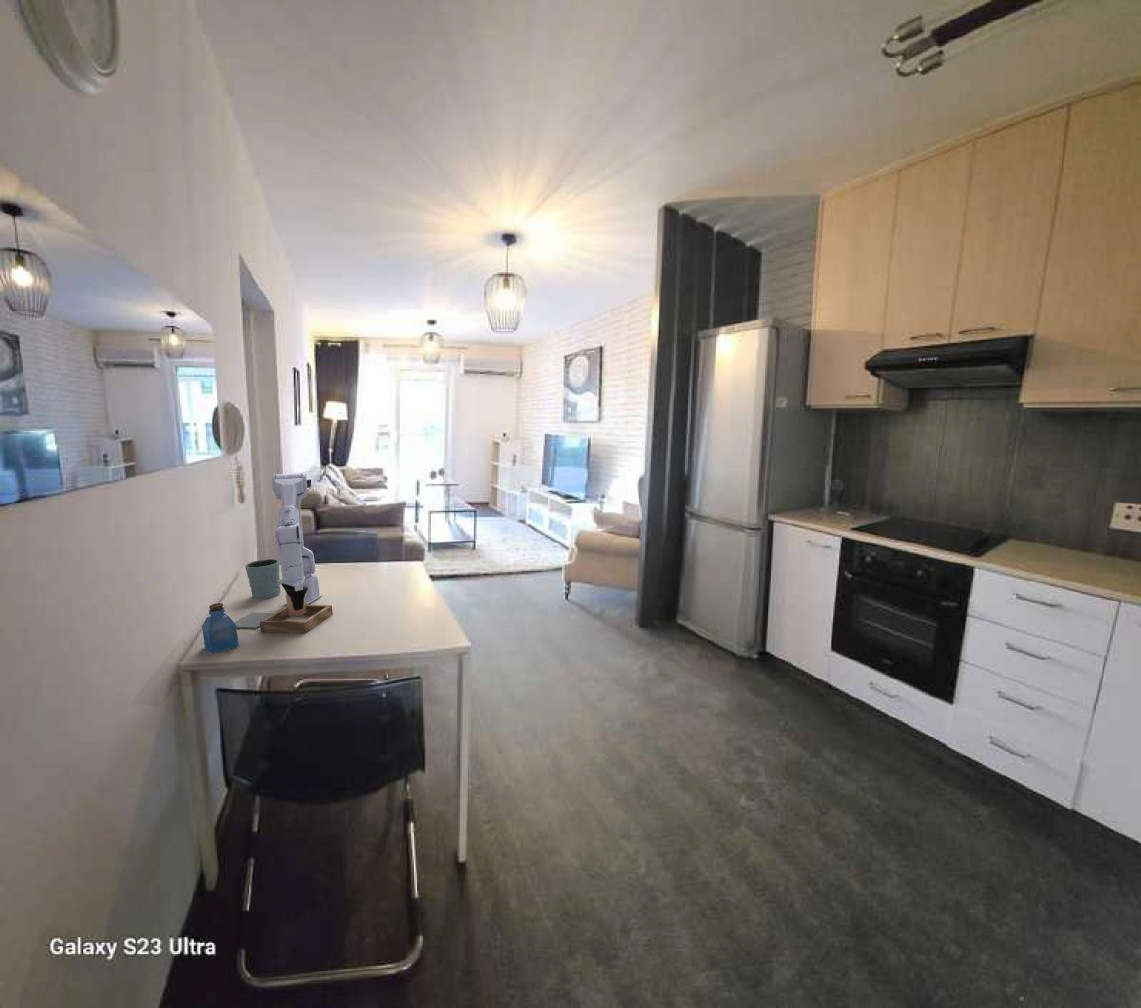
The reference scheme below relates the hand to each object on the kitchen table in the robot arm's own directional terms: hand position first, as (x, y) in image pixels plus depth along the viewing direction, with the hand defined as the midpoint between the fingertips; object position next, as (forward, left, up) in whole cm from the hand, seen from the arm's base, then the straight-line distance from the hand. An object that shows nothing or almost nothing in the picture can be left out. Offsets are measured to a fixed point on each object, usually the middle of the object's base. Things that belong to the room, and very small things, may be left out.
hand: (296, 607), depth 152 cm
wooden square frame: (0, 0, -5) cm, 5 cm away
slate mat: (0, -14, -5) cm, 15 cm away
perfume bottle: (+17, -11, -5) cm, 21 cm away
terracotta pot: (0, 0, -2) cm, 2 cm away
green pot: (-22, -27, -5) cm, 35 cm away
